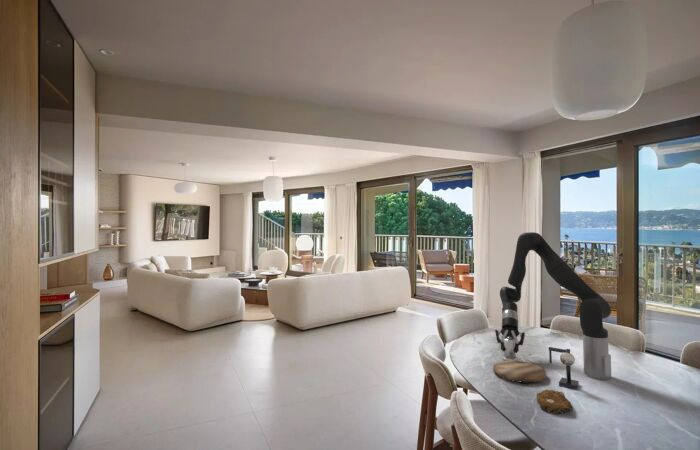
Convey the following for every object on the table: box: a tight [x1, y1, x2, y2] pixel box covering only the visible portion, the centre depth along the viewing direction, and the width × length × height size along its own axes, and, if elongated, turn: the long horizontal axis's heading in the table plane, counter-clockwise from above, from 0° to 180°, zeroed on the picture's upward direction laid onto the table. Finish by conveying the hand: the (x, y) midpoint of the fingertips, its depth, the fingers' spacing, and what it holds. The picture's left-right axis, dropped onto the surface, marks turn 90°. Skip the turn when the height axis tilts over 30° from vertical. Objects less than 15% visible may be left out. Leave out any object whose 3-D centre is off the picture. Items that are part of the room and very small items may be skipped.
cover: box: [502, 336, 519, 361], centre depth 178 cm, size 7×7×11 cm
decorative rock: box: [536, 389, 573, 415], centre depth 133 cm, size 11×4×15 cm
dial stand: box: [548, 346, 580, 390], centre depth 151 cm, size 10×6×14 cm, turn 49°
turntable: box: [492, 360, 547, 383], centre depth 161 cm, size 21×21×2 cm
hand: (509, 351), depth 176 cm, fingers closed on cover, 5 cm apart
